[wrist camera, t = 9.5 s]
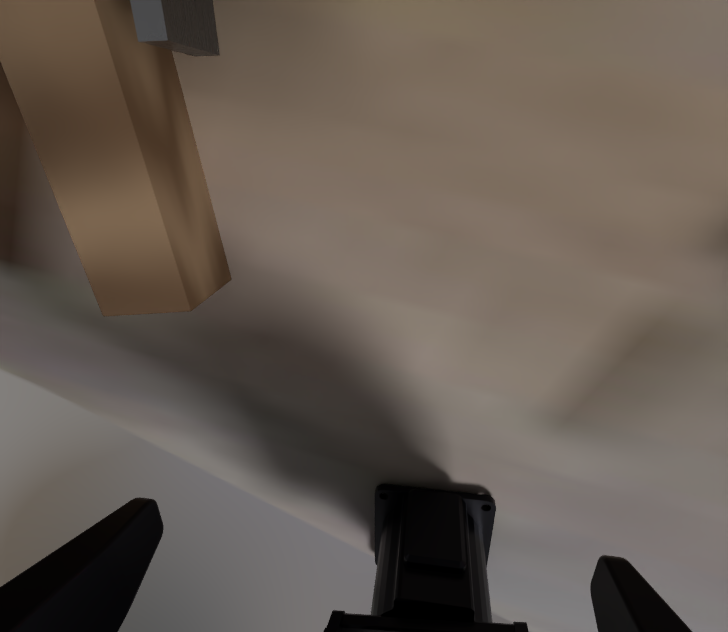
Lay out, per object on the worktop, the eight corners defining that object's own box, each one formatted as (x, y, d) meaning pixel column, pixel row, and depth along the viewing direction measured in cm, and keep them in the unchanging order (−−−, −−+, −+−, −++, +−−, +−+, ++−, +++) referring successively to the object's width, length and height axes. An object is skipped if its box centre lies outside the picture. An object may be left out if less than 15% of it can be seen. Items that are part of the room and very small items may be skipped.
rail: (39, -77, 16) (-79, -135, 12) (135, -103, 15) (40, -173, 11) (159, 282, 21) (103, 316, 18) (233, 277, 20) (190, 311, 17)
